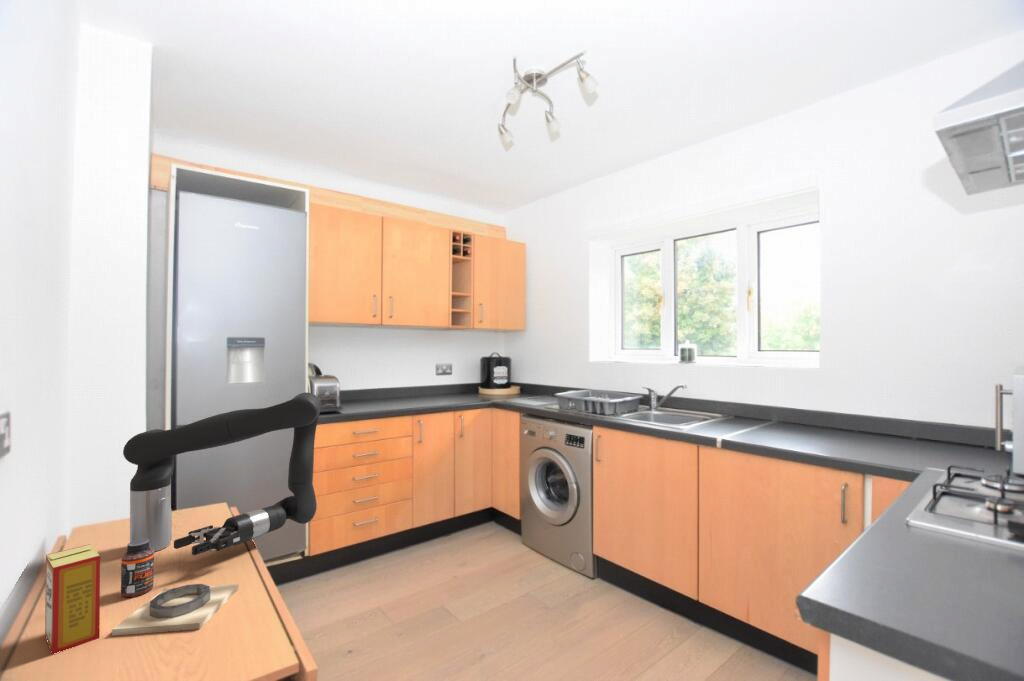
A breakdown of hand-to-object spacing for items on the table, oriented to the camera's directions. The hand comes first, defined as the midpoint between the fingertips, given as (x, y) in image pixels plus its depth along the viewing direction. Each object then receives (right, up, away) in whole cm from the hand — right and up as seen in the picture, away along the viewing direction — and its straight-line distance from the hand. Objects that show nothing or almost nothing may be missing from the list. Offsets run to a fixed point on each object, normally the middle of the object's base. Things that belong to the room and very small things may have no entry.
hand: (183, 548), depth 117 cm
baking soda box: (-3, -6, -26) cm, 27 cm away
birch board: (+11, -6, -17) cm, 21 cm away
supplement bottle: (-5, -7, -9) cm, 12 cm away
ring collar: (+11, -5, -17) cm, 21 cm away
